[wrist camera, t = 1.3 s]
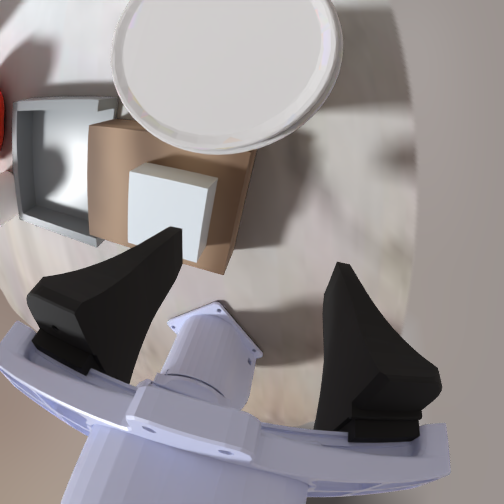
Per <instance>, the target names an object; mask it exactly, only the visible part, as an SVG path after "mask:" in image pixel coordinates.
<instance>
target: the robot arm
mask: <svg viewBox="0 0 504 504" xmlns="http://www.w3.org/2000/svg"><path fill="white" fill-rule="evenodd" d="M182 264H183V250H182V228H177V227H172V226H170V227H168V228H166V229H164V230H162V231H161V232H159V233H157V234H156V235H154V236H152V237H150V238H149V239H147V240H145V241H144V242H142V243H140V244H138V245H136V246H135V247H133V248H131V249H129V250H127V251H125V252H123V253H121V254H119V255H117V256H115V257H113V258H110V259H108V260H106V261H103V262H101V263H98V264H95V265H92V266H89V267H86V268H83V269H80V270H76V271H72V272H68V273H64V274H59V275H53V276H47V277H43V278H42V279H41V280H40V281H39V282H38V283H37V284H36V286H35V287H34V288H33V289H32V290H31V291H30V293H29V294H28V295H27V304H28V307H29V309H30V311H31V313H32V315H33V317H34V319H35V320H36V322H37V324H38V326H39V328H40V329H39V331H38V332H37V333H36V332H35V331H34V330H33V329H31V328H30V327H28V326H27V325H25V324H23V323H22V322H20V321H18V320H17V321H16V322H15V323H14V325H13V326H12V327H11V329H10V330H9V331H8V333H7V334H6V336H5V337H4V338H3V340H2V341H1V343H0V371H1V372H2V373H3V374H4V376H5V377H6V378H7V379H8V380H9V381H10V382H11V383H12V384H13V385H14V386H15V387H16V388H17V389H18V390H20V391H21V392H22V393H24V394H25V395H27V396H28V397H29V398H30V399H32V400H33V401H35V402H36V403H37V404H39V405H40V406H41V407H43V408H44V409H46V410H47V411H49V412H50V413H52V414H53V415H54V416H56V417H58V418H59V419H60V420H62V421H64V422H65V423H67V424H68V425H70V426H71V427H73V428H75V429H77V430H78V431H80V432H81V433H83V434H85V435H87V436H88V438H87V440H86V443H85V445H84V447H83V449H82V452H81V454H80V457H79V459H78V461H77V463H76V466H75V468H74V471H73V473H72V475H71V478H70V480H69V483H68V486H67V488H66V491H65V493H64V496H63V498H62V501H61V504H306V498H307V497H337V496H354V495H367V494H376V493H384V492H392V491H399V490H406V489H411V488H416V487H419V486H422V485H425V484H427V483H430V482H433V481H435V480H438V479H440V478H442V477H445V476H447V475H449V474H450V473H451V470H450V456H449V445H448V436H447V429H446V423H436V424H425V425H422V426H419V421H418V420H420V419H421V418H422V411H421V410H422V409H424V408H425V407H426V406H427V405H429V404H430V403H431V402H432V401H433V400H435V399H436V398H437V397H438V396H439V394H440V392H441V391H442V384H441V379H440V375H439V371H438V368H437V367H436V366H434V365H433V364H432V363H430V362H429V361H428V360H426V359H425V358H424V357H422V356H421V355H420V354H419V353H418V352H416V351H415V350H414V349H413V348H412V347H411V346H410V345H409V344H408V343H407V342H406V341H405V340H404V339H403V338H402V337H401V336H400V335H399V334H398V333H397V332H396V331H395V330H394V329H393V328H392V326H391V325H390V324H389V323H388V322H387V320H386V319H385V318H384V317H383V315H382V314H381V313H380V311H379V310H378V309H377V307H376V306H375V304H374V303H373V301H372V300H371V298H370V297H369V295H368V294H367V292H366V291H365V289H364V287H363V286H362V284H361V282H360V281H359V279H358V277H357V276H356V274H355V272H354V271H353V269H352V267H351V266H350V264H345V263H341V262H337V263H336V266H335V268H334V271H333V274H332V276H331V279H330V281H329V284H328V286H327V289H326V291H325V293H324V302H323V336H324V365H323V375H322V383H321V391H320V398H319V404H318V409H317V415H316V420H315V424H314V429H313V430H312V429H304V428H296V427H289V426H282V425H275V424H269V423H264V422H260V421H259V420H258V418H256V417H254V416H253V415H251V414H249V413H247V412H244V411H241V409H242V408H243V407H244V406H245V404H246V402H247V401H248V398H249V395H250V390H251V385H252V379H253V374H254V369H255V363H256V359H257V358H261V357H262V356H263V353H262V351H261V350H260V349H259V348H258V347H257V346H256V345H255V343H254V342H253V341H252V340H251V339H250V338H249V336H248V335H247V334H246V333H245V332H244V331H243V330H242V328H241V327H240V326H239V325H238V324H237V322H236V321H235V320H234V319H233V318H232V317H231V315H230V314H229V313H228V312H227V311H226V309H225V308H224V307H223V306H222V305H221V304H220V303H219V302H213V303H211V304H208V305H206V306H203V307H201V308H198V309H195V310H193V311H190V312H188V313H185V314H182V315H180V316H177V317H175V318H172V319H169V320H168V322H167V324H168V326H169V327H170V328H171V329H172V330H173V331H174V332H175V333H176V334H177V337H176V339H175V341H174V343H173V346H172V348H171V350H170V352H169V354H168V357H167V359H166V361H165V363H164V365H163V368H162V370H161V372H160V373H157V374H156V376H155V379H154V381H151V380H149V379H145V380H144V381H141V382H139V383H138V385H137V386H136V387H135V386H132V385H129V384H130V380H131V376H132V373H133V370H134V367H135V364H136V361H137V358H138V355H139V352H140V349H141V347H142V344H143V341H144V339H145V336H146V334H147V331H148V329H149V327H150V324H151V322H152V320H153V318H154V316H155V314H156V312H157V311H158V309H159V307H160V306H161V304H162V302H163V301H164V299H165V297H166V296H167V294H168V292H169V291H170V289H171V287H172V285H173V284H174V282H175V280H176V278H177V276H178V273H179V271H180V269H181V266H182ZM219 309H221V310H219ZM254 349H255V350H254Z"/></svg>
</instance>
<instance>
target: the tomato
mask: <svg viewBox="0 0 504 504" xmlns="http://www.w3.org/2000/svg"><path fill="white" fill-rule="evenodd" d="M3 136H4V99H3V96H2V93H1V90H0V149H1V147H2V143H3Z"/></svg>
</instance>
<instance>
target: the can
mask: <svg viewBox="0 0 504 504" xmlns="http://www.w3.org/2000/svg"><path fill="white" fill-rule="evenodd" d="M18 214H19V213H18V206H17V199H16V191H15V182H14V175H13V174H12V173H10V172H7V171H5V172H2V173H0V227H1V226H2V225H4V224H5V223H7V222H8V221H9V220H11V219H12V218H14V217H15V216H17V215H18Z"/></svg>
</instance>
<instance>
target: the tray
mask: <svg viewBox="0 0 504 504" xmlns="http://www.w3.org/2000/svg"><path fill="white" fill-rule="evenodd" d="M118 100H119V97H100V96H62V97H40V98H30V99H25V100H21V101H17V102H13V112H12V153H13V170H14V182H15V191H16V199H17V206H18V213H19V219H20V220H23V221H25V222H28V223H31V224H33V225H36V226H38V227H41V228H44V229H47V230H49V231H52V232H55V233H57V234H60V235H63V236H66V237H69V238H71V239H74V240H77V241H80V242H83V243H86V244H89V245H91V246H94V247H98V246H99V245H100V244H101V243H102V242H103V241H104V240H105V239H102V238H99V237H95V236H92V235H90V233H89V219H88V198H87V151H88V131H89V125H92V124H96V123H100V122H104V121H108V120H112V119H116V116H117V107H118Z"/></svg>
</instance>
